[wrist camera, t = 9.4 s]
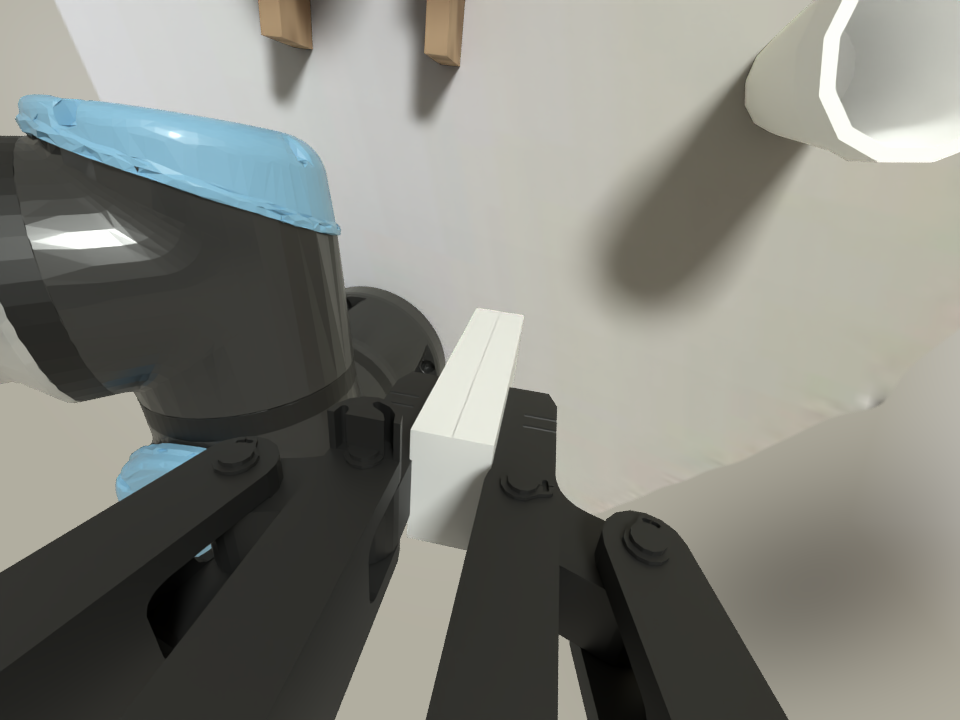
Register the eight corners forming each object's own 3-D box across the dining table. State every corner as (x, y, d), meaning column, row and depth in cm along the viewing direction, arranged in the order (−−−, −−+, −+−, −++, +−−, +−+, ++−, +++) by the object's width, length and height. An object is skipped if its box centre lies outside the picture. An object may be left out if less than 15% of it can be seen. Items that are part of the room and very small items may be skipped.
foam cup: (874, -46, 25) (1135, -210, 14) (890, 115, 28) (1115, 92, 17) (703, 45, 28) (799, -27, 17) (735, 181, 31) (834, 199, 20)
